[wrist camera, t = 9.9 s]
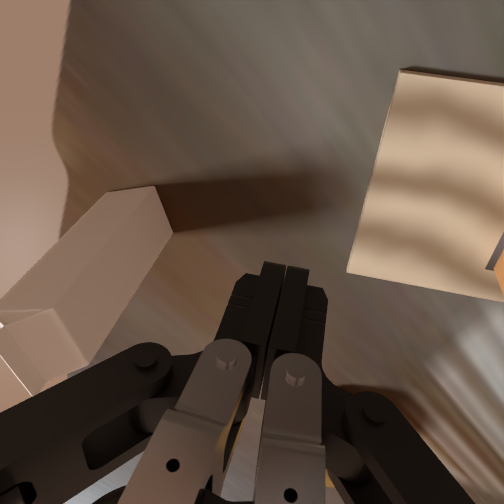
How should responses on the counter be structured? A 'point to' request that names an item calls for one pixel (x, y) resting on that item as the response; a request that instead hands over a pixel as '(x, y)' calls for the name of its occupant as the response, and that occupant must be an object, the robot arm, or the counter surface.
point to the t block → (500, 271)
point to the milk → (81, 287)
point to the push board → (437, 188)
